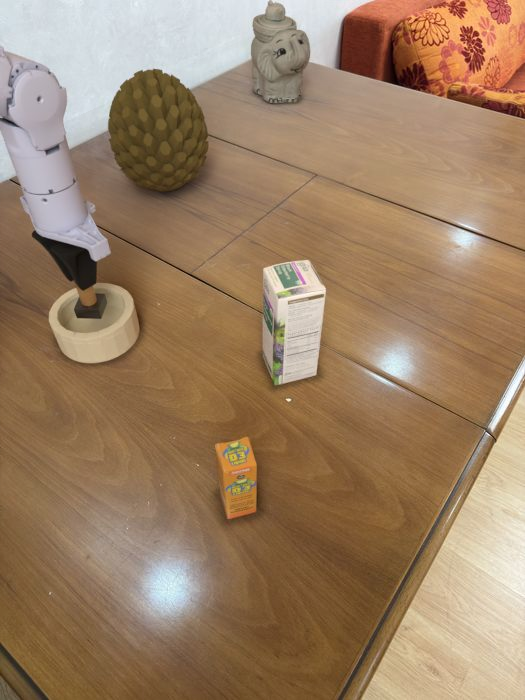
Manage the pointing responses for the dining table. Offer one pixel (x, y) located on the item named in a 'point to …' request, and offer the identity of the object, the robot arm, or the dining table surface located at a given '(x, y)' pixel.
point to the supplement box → (237, 477)
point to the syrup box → (292, 320)
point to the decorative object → (157, 131)
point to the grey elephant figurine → (278, 55)
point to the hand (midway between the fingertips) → (82, 281)
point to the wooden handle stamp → (90, 304)
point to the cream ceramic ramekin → (95, 326)
